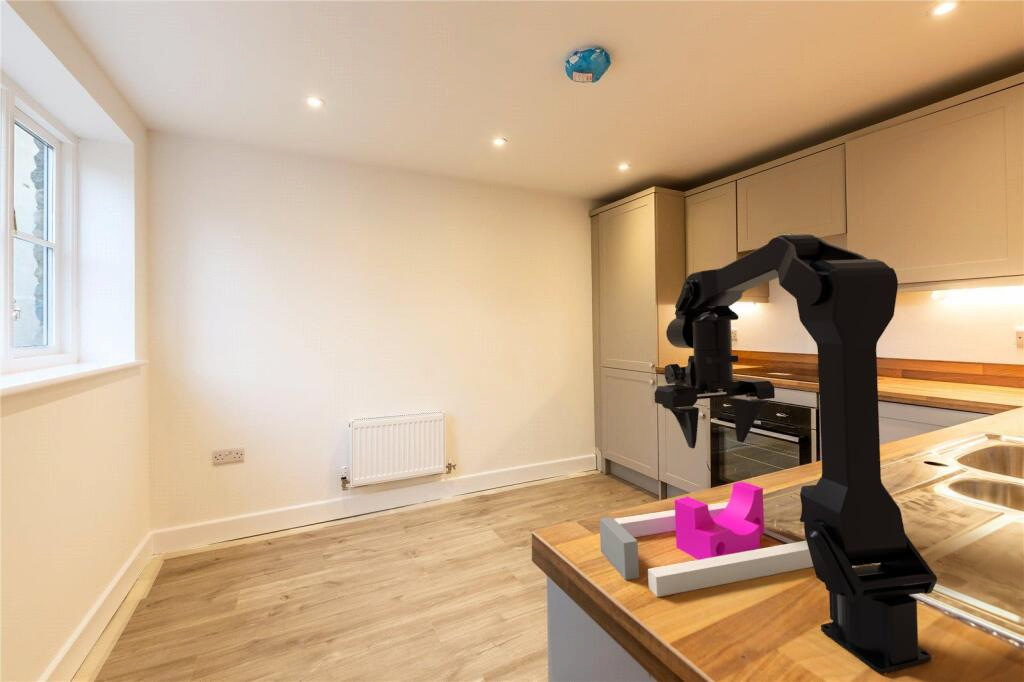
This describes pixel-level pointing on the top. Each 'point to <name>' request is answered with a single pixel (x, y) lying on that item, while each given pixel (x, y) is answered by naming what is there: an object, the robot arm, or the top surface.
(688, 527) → the toy block
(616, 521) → the chute
